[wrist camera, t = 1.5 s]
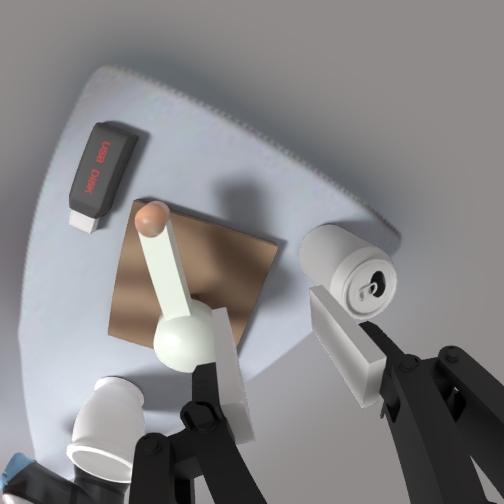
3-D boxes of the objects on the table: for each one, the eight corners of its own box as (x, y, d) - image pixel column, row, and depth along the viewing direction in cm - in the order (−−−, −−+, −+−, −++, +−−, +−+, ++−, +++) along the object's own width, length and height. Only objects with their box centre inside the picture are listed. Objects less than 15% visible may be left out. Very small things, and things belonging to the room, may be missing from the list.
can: (353, 266, 36) (405, 306, 25) (304, 287, 36) (343, 338, 25) (342, 214, 34) (400, 240, 23) (288, 234, 33) (330, 271, 22)
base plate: (227, 359, 38) (228, 366, 36) (110, 328, 33) (107, 334, 32) (275, 243, 33) (278, 247, 32) (136, 199, 29) (133, 200, 28)
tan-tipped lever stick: (224, 343, 30) (227, 366, 26) (169, 353, 29) (166, 376, 25) (188, 192, 24) (184, 197, 21) (122, 208, 24) (108, 216, 20)
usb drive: (139, 136, 27) (133, 134, 25) (103, 232, 30) (95, 238, 27) (102, 123, 26) (93, 120, 23) (69, 217, 29) (59, 222, 26)
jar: (135, 367, 36) (117, 448, 22) (160, 410, 39) (154, 484, 25) (79, 372, 35) (50, 442, 21) (107, 413, 38) (92, 480, 24)
